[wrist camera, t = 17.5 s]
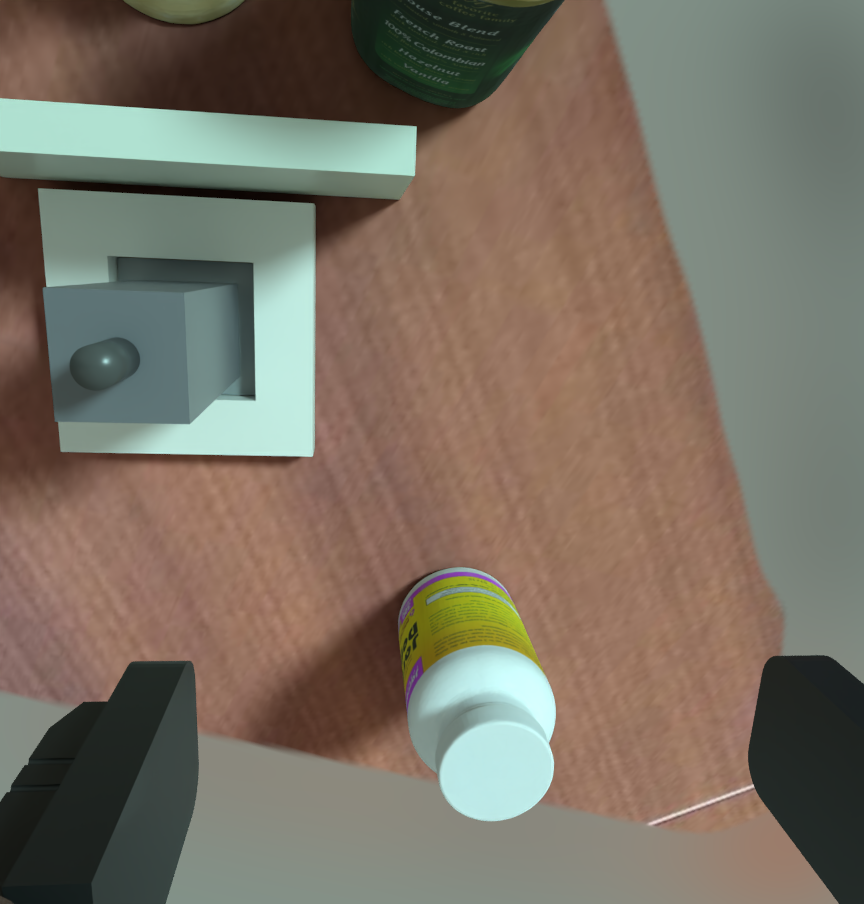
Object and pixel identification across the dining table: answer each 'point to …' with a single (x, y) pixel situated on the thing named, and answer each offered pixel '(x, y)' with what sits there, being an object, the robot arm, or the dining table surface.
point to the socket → (204, 241)
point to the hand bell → (184, 9)
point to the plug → (141, 349)
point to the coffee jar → (447, 43)
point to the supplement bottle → (476, 694)
